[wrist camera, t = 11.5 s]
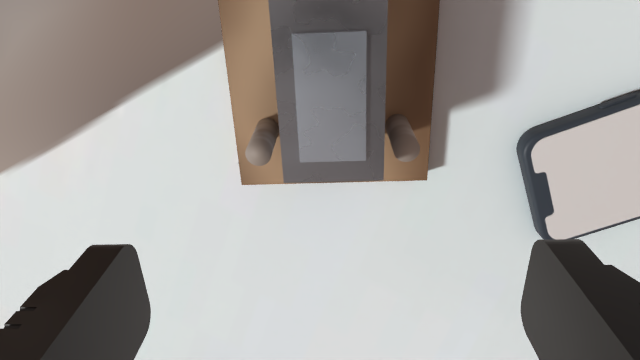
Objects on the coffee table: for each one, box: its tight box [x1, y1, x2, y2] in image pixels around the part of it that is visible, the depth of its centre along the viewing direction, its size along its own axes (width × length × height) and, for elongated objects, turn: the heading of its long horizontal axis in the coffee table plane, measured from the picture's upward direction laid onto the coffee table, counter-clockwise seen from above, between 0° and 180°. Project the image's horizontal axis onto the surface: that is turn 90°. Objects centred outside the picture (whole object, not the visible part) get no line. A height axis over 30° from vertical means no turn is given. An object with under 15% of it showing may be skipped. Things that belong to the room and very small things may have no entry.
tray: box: [218, 0, 440, 185], centre depth 25 cm, size 12×16×5 cm
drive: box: [268, 0, 388, 183], centre depth 23 cm, size 5×10×6 cm, turn 2°
